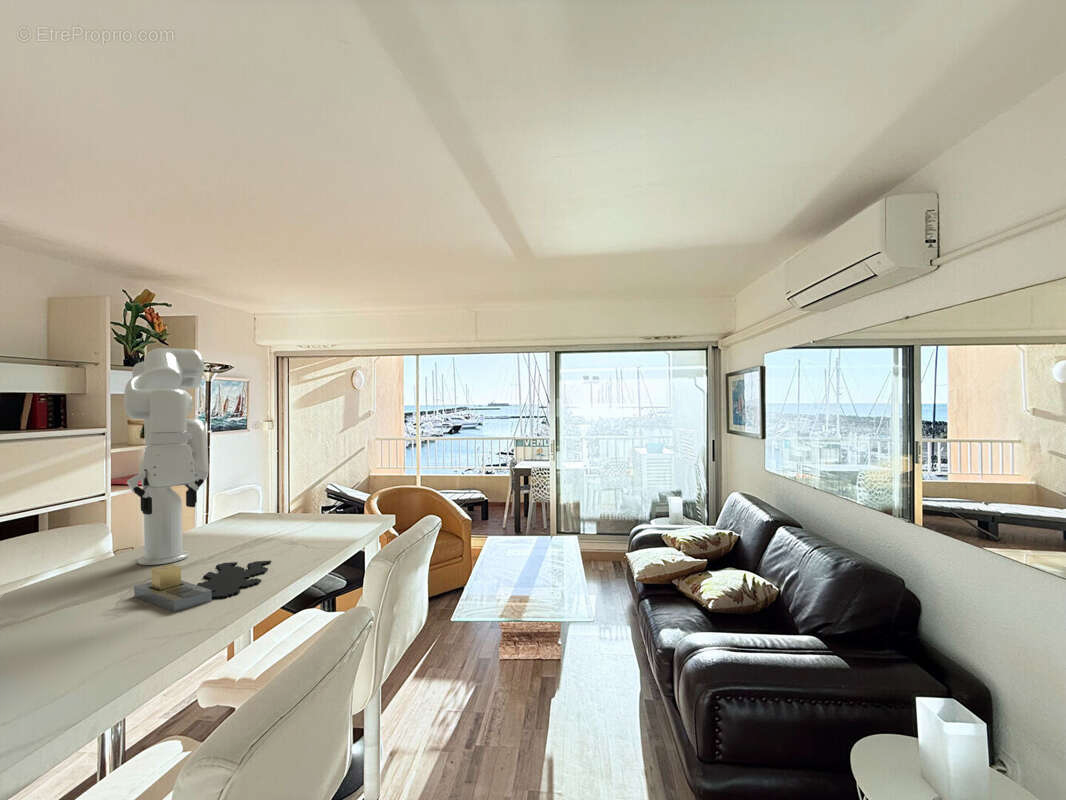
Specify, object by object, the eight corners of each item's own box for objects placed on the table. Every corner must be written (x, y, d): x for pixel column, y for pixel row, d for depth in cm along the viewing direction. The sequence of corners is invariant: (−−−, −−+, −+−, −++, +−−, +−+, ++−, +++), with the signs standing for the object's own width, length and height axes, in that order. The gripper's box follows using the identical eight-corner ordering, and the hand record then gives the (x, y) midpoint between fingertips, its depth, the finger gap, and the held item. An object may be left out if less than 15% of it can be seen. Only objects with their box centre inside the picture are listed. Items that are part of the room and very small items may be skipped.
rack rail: (134, 596, 131) (134, 585, 131) (170, 586, 138) (170, 576, 138) (175, 612, 121) (174, 600, 121) (212, 600, 127) (212, 589, 127)
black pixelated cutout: (219, 566, 156) (173, 603, 127) (219, 563, 156) (173, 599, 127) (279, 562, 159) (248, 597, 130) (278, 559, 159) (248, 593, 130)
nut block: (151, 597, 130) (151, 568, 130) (172, 592, 134) (171, 563, 134) (160, 601, 128) (160, 571, 128) (181, 595, 132) (180, 566, 132)
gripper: (197, 437, 141) (198, 503, 141) (119, 442, 126) (120, 515, 126) (213, 437, 137) (214, 505, 137) (134, 442, 122) (136, 518, 122)
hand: (169, 510), depth 131 cm, fingers open, 9 cm apart
